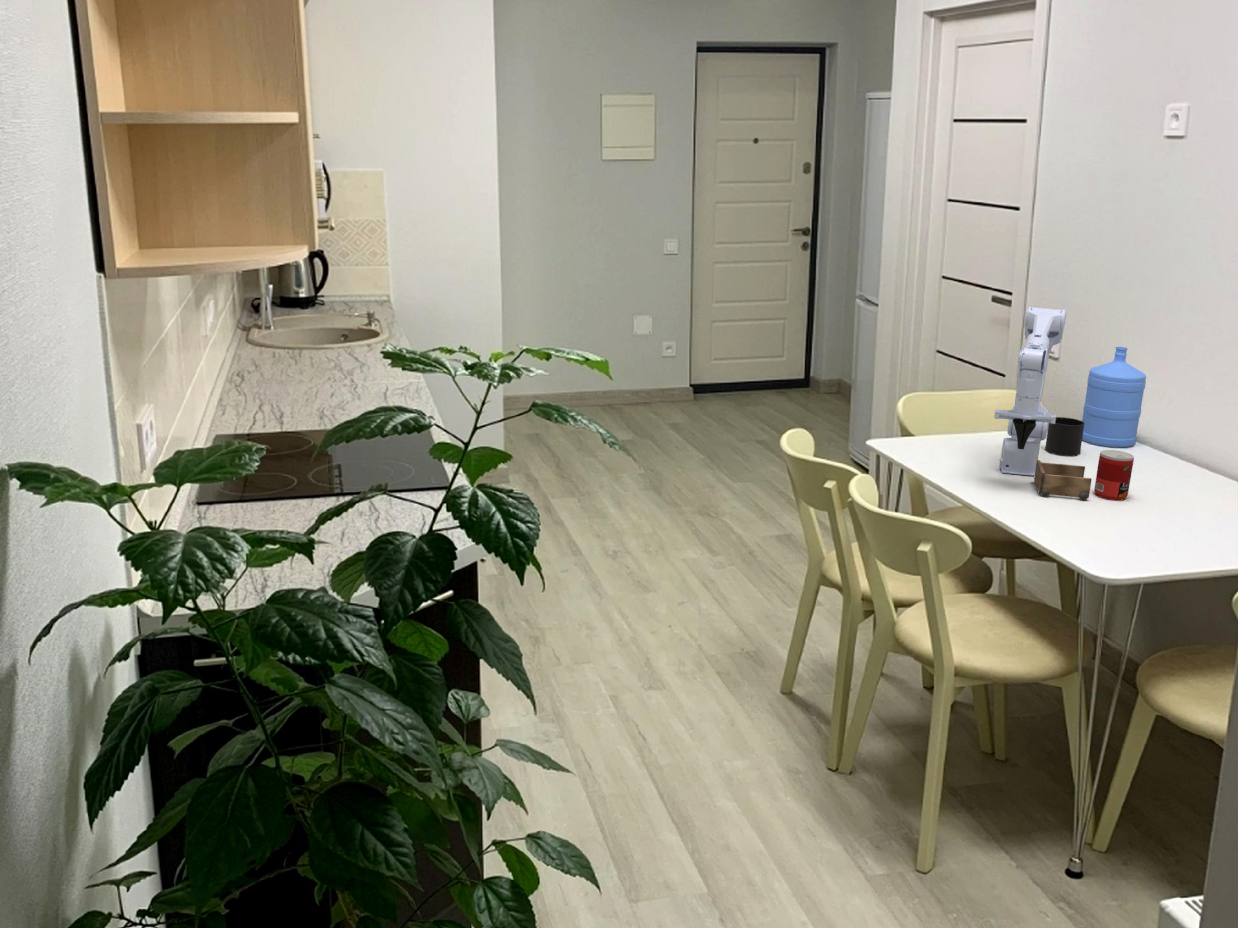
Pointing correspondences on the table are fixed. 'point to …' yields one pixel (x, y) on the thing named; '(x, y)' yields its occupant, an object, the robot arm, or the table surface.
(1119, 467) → the canned food
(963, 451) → the table surface
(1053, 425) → the mug
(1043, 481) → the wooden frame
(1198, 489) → the table surface
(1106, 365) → the water jug
